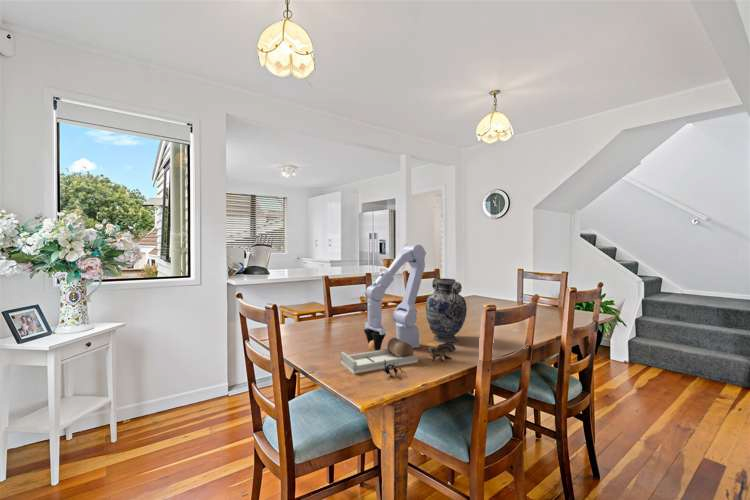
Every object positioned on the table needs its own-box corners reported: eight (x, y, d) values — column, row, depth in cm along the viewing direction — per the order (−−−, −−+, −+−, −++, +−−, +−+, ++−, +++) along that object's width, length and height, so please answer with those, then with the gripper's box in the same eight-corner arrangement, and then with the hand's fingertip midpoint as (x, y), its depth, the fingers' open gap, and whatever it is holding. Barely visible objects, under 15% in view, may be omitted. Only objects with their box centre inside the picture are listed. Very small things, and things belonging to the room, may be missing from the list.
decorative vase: (415, 335, 170) (417, 277, 169) (447, 332, 178) (449, 276, 177) (442, 348, 150) (443, 282, 150) (476, 343, 158) (478, 281, 157)
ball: (377, 349, 148) (377, 337, 148) (382, 352, 144) (382, 340, 144) (366, 351, 146) (366, 339, 146) (371, 354, 141) (371, 342, 141)
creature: (403, 374, 124) (380, 370, 123) (406, 359, 124) (384, 355, 123) (407, 383, 116) (383, 378, 115) (410, 367, 116) (387, 362, 115)
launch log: (400, 351, 142) (400, 337, 142) (413, 359, 133) (413, 343, 133) (387, 354, 139) (387, 338, 139) (399, 361, 131) (399, 345, 131)
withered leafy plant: (443, 362, 129) (459, 353, 134) (433, 344, 132) (450, 336, 137) (432, 368, 135) (448, 359, 140) (423, 350, 138) (439, 342, 143)
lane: (400, 353, 144) (401, 343, 143) (417, 362, 133) (417, 351, 133) (341, 363, 132) (341, 352, 132) (353, 373, 121) (353, 362, 121)
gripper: (358, 312, 149) (358, 344, 149) (373, 319, 136) (373, 354, 137) (373, 311, 152) (373, 342, 153) (389, 317, 139) (389, 352, 140)
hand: (374, 348), depth 145 cm, fingers closed on ball, 5 cm apart
